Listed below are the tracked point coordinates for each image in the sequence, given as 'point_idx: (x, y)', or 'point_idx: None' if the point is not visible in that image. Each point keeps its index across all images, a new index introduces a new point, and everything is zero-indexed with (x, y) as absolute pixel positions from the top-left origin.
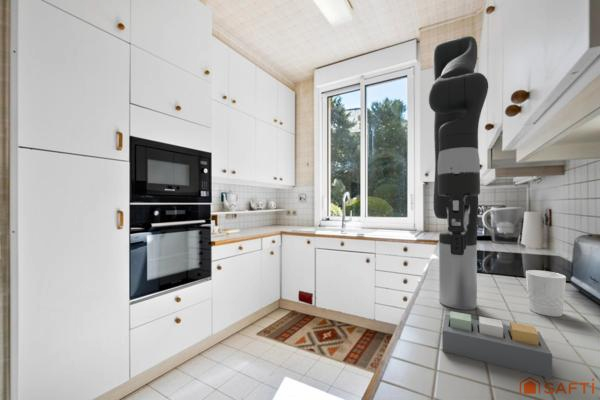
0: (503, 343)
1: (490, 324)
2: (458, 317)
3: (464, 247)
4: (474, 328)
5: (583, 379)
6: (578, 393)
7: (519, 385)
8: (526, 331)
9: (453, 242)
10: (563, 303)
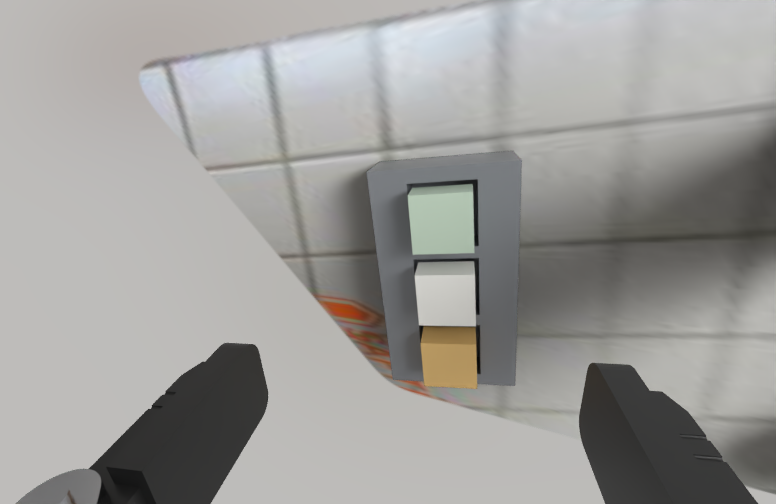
0: (384, 307)
1: (421, 299)
2: (423, 219)
3: (583, 439)
4: None
5: (432, 387)
6: (377, 368)
7: (340, 298)
8: (428, 367)
9: (141, 424)
10: None
